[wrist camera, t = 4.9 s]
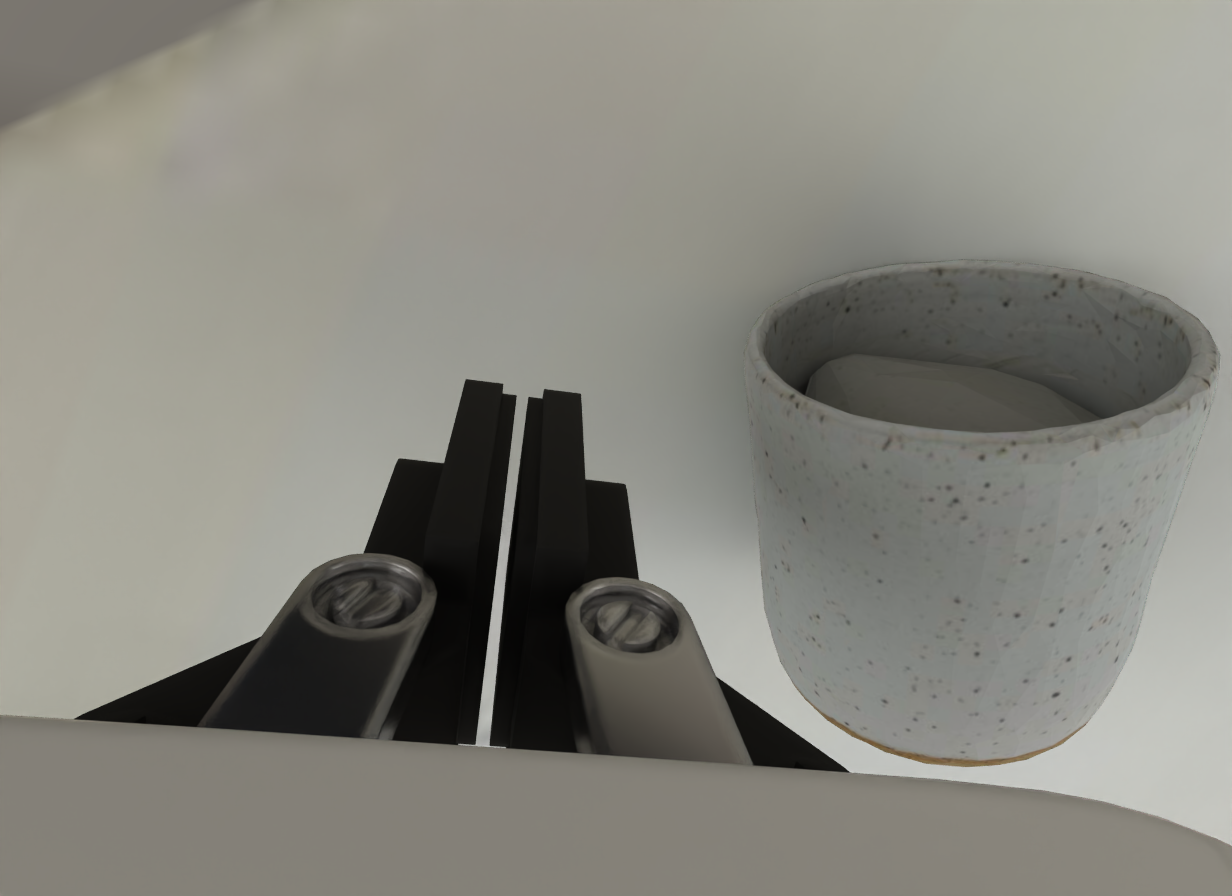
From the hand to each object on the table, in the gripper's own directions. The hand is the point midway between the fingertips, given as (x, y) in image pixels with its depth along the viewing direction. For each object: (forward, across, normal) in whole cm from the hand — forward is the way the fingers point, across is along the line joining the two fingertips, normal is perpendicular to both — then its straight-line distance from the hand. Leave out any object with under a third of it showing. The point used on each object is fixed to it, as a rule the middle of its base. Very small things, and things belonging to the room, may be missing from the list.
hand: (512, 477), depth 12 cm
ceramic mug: (+7, -10, +1) cm, 12 cm away
